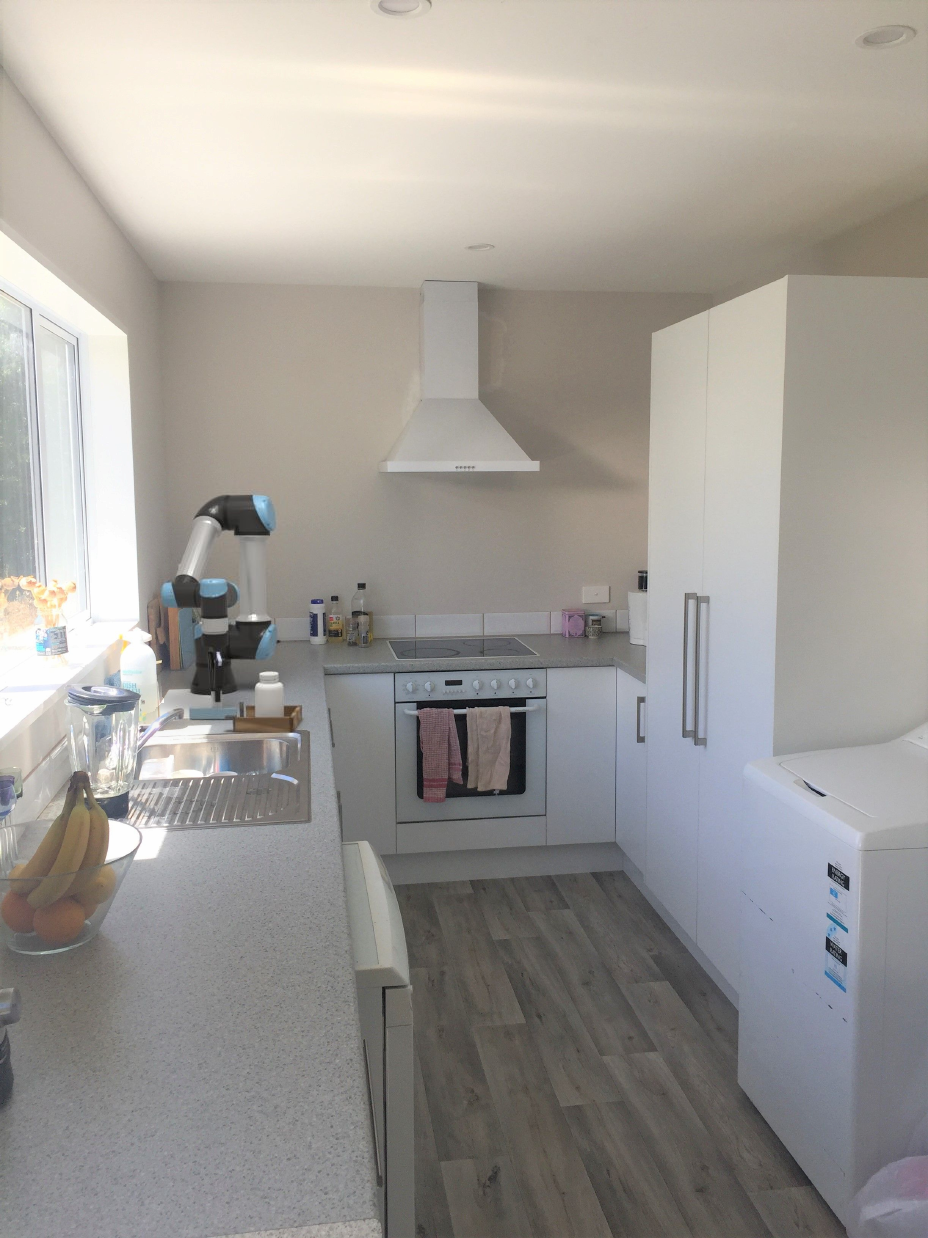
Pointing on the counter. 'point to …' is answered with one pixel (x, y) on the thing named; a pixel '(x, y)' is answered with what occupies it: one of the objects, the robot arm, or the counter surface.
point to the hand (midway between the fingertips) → (217, 712)
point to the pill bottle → (269, 696)
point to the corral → (266, 720)
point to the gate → (211, 713)
